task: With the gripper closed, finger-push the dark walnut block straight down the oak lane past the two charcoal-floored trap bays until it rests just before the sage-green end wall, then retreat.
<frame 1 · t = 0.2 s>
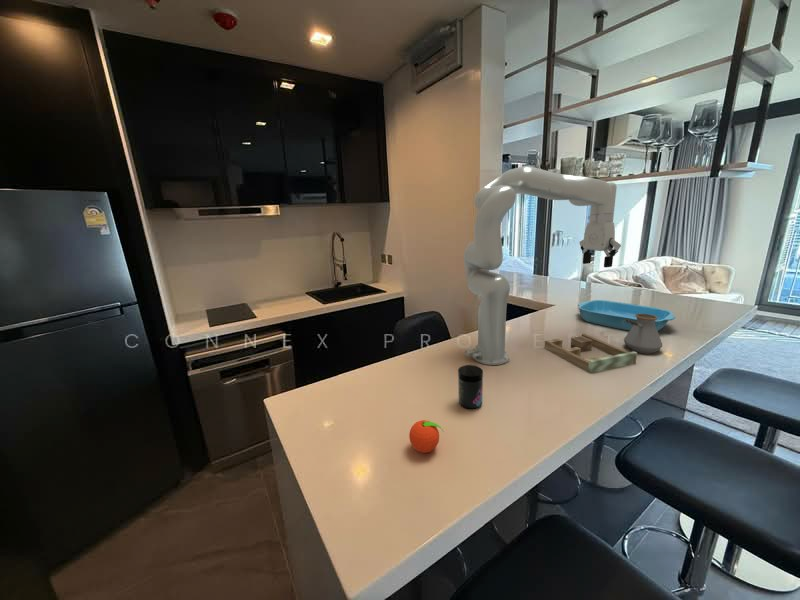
hand: (596, 265, 125), 30 cm above the counter, fingers open, 9 cm apart
walnut block: (580, 349, 125), on the counter
coffee pot: (635, 353, 119), on the counter
clementine: (427, 449, 77), on the counter
supplement container: (470, 404, 94), on the counter
casserole dish: (620, 324, 149), on the counter
trap box: (592, 354, 120), on the counter
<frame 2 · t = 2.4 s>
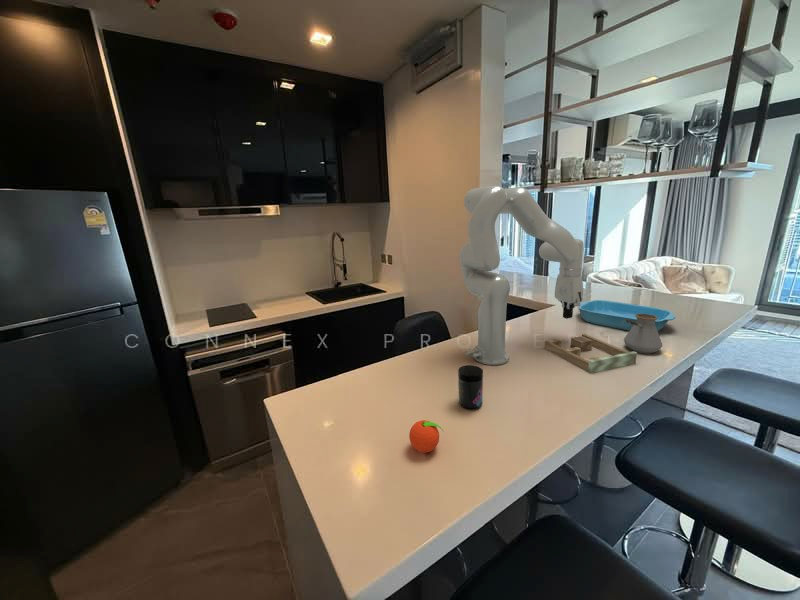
hand: (567, 317, 131), 10 cm above the counter, fingers closed
nothing on the counter moved.
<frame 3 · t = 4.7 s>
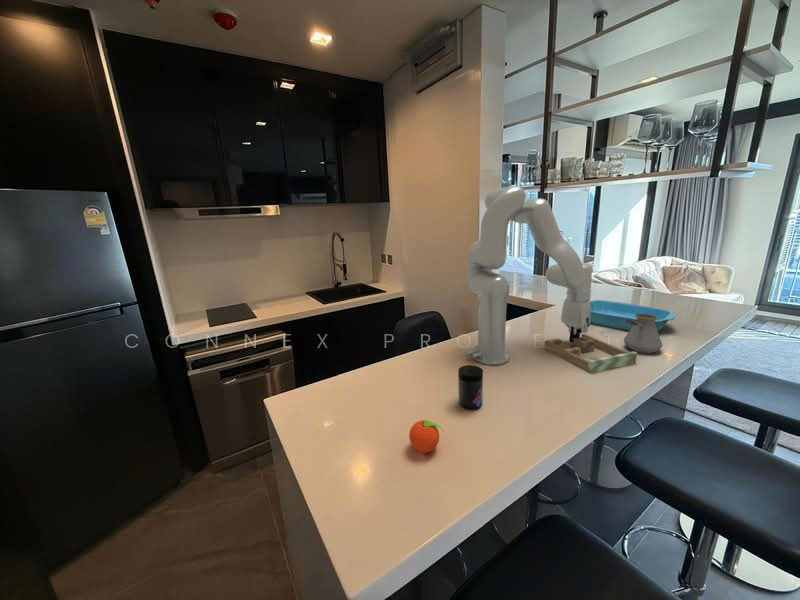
hand: (574, 342, 128), 1 cm above the counter, fingers closed
walnut block: (583, 349, 124), on the counter
everything else where it was.
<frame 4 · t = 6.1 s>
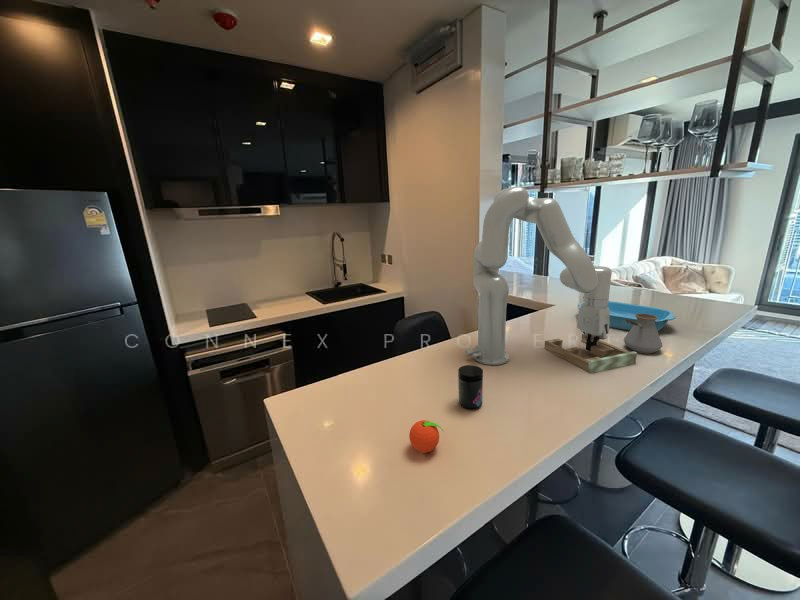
hand: (590, 350, 121), 1 cm above the counter, fingers closed
walnut block: (601, 358, 117), on the counter, touching gripper
everything else where it was.
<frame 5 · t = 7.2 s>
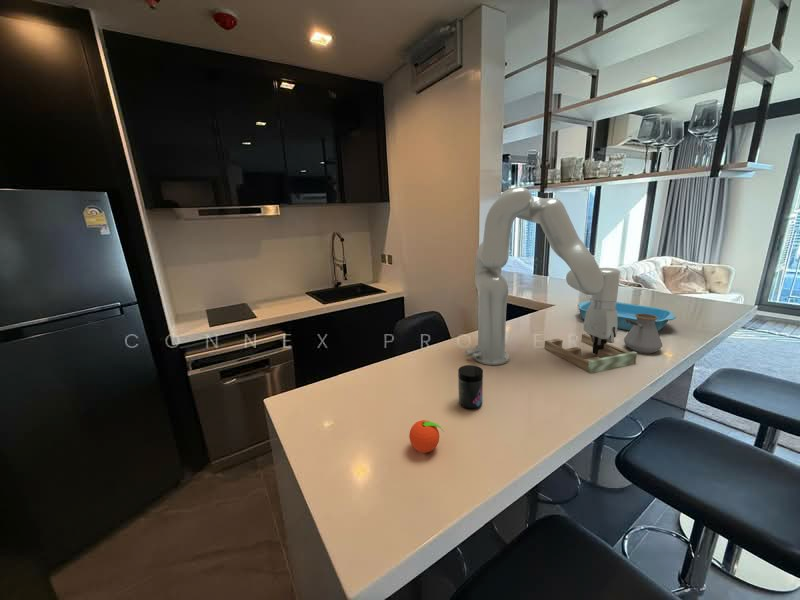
hand: (597, 353, 118), 1 cm above the counter, fingers closed
walnut block: (608, 362, 114), on the counter
everything else where it was.
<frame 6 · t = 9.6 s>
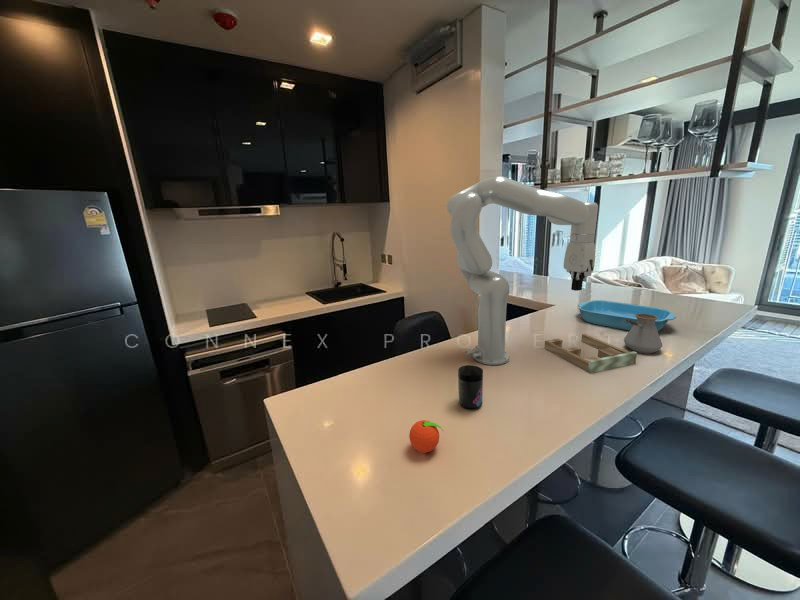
hand: (576, 289, 120), 23 cm above the counter, fingers closed
nothing on the counter moved.
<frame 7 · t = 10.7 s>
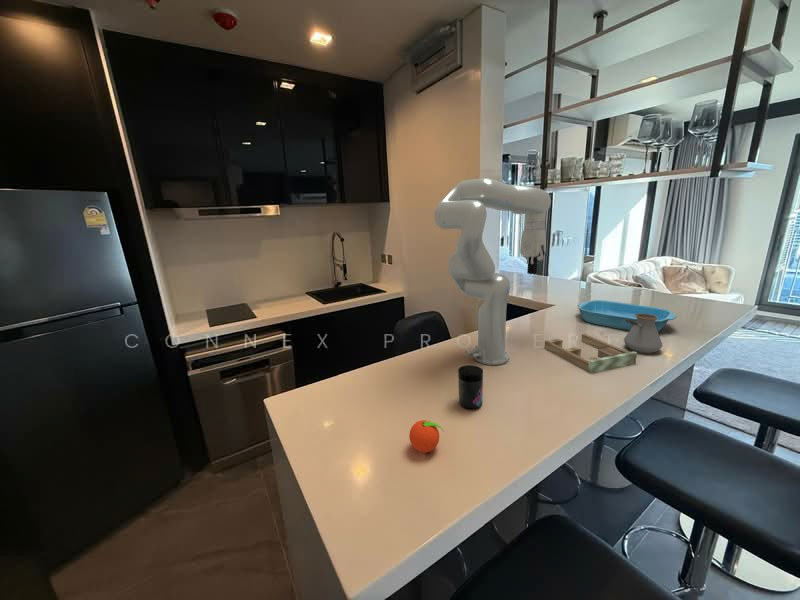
hand: (532, 273, 132), 27 cm above the counter, fingers closed
nothing on the counter moved.
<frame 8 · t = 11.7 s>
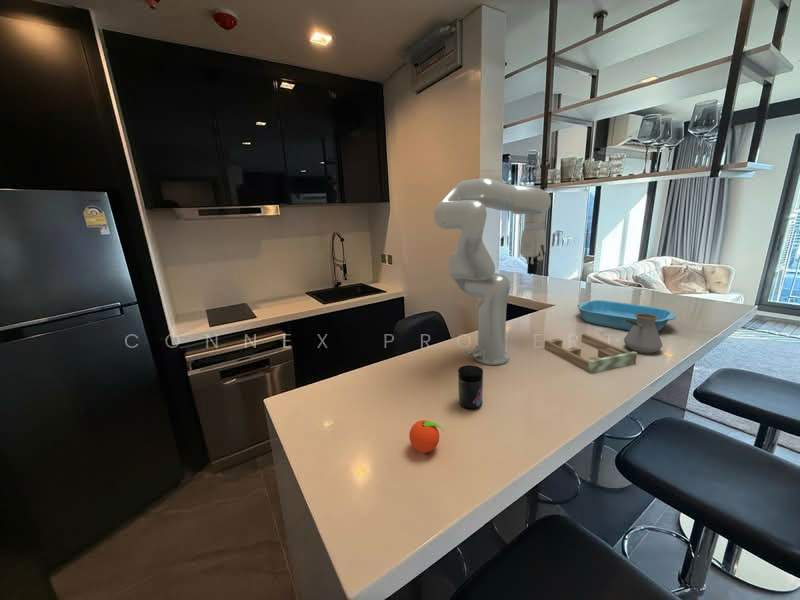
hand: (531, 273, 132), 27 cm above the counter, fingers closed
nothing on the counter moved.
at the end: walnut block inside the target area (1.2 cm from its centre), on the counter; walnut block tilted 0° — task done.
